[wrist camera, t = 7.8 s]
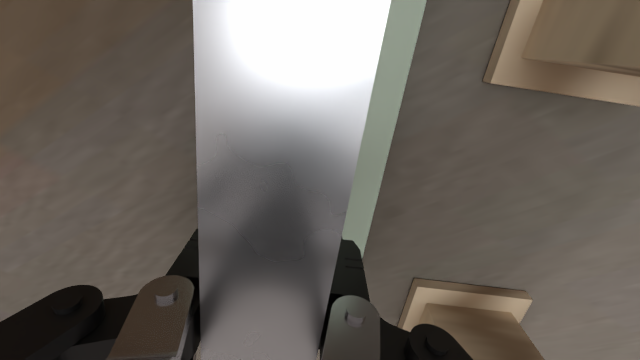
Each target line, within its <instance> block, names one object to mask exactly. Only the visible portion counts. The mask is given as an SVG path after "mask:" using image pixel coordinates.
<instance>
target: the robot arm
mask: <svg viewBox="0 0 640 360" xmlns="http://www.w3.org/2000/svg"><path fill="white" fill-rule="evenodd" d="M200 341H201V334H200V290H199V246H198V229H196V231H195V232H194V234H193V235H192V237H191V238H190V241H188V243H187V244H186V246H185V248H184V249H183V250H182V252H181V253H180V255H179V256H178V258H177V259H176V261H175V262H174V264H173V265H172V266H171V268H170V269H169V271H168V272H167V274H166V275H165V276H163V277H159V278H157V279H154V280H152V281H150V282H149V283H147V284H146V285H145V286H144V287H143V288H142V289H141V290H140V292H139V293H138V294H137V295H132V296H126V297H119V298H111V299H104V300H103V295H102V292H101V291H100V290H99V289H98V288H96V287H94V286H90V285H77V286H71V287H67V288H64V289H61V290H58V291H56V292H54V293H52V294H50V295H48V296H47V297H45V298H43V299H41V300H39V301H38V302H36V303H34V304H32V305H30V306H28V307H27V308H25V309H23V310H21V311H19V312H18V313H16V314H14V315H12V316H10V317H9V318H7V319H5V320H3V321H1V322H0V360H196V350H197V348H198V346H199V343H200ZM318 349H320V360H473V359H472V358H471V356H470V355H469V354H468V353H467V352H466V351H465V350H464V349H463V347H462V346H461V345H460V344H459V343H458V342H457V341H456V340H455V338H454V337H453V336H452V335H450V334H449V333H448V332H447V331H445V330H444V329H442V328H440V327H438V326H435V325H432V324H418V325H416V326H415V327H413V328H412V330H411V332H409V331H406V330H404V329H401V328H398V327H396V326H393V325H391V324H389V323H387V322H386V321H384V320H383V319H382V318H380V316H379V313H378V311H377V309H376V308H375V307H374V306H373V305H372V304H371V303H370V300H369V294H368V289H367V284H366V278H365V273H364V270H363V262H362V257H361V251H360V249H359V248H358V246H357V245H356V244H355V242H354V241H352V240H344V239H343V238H342V237H341V242H340V247H339V252H338V257H337V261H336V266H335V271H334V276H333V281H332V285H331V290H330V295H329V300H328V305H327V309H326V314H325V319H324V324H323V329H322V333H321V338H320V343H319V348H318Z"/></svg>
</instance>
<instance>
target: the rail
mask: <svg viewBox="0 0 640 360" xmlns="http://www.w3.org/2000/svg"><path fill="white" fill-rule="evenodd" d="M390 2H391V0H193V27H194V71H195V114H196V158H197V202H198V246H199V290H200V334H201V360H316V357H317V353H318V348H319V343H320V338H321V333H322V329H323V324H324V319H325V314H326V309H327V305H328V300H329V295H330V290H331V285H332V281H333V276H334V271H335V266H336V261H337V257H338V252H339V247H340V242H341V237H342V233H343V228H344V223H345V218H346V213H347V209H348V204H349V199H350V194H351V189H352V185H353V180H354V175H355V170H356V165H357V161H358V156H359V151H360V146H361V141H362V137H363V132H364V127H365V122H366V117H367V113H368V108H369V103H370V98H371V93H372V89H373V84H374V79H375V74H376V69H377V65H378V60H379V55H380V50H381V45H382V41H383V36H384V31H385V26H386V21H387V17H388V12H389V7H390Z"/></svg>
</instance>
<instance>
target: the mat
mask: <svg viewBox="0 0 640 360" xmlns="http://www.w3.org/2000/svg"><path fill="white" fill-rule="evenodd" d="M426 1H427V0H391V2H390V7H389V12H388V17H387V21H386V26H385V31H384V36H383V41H382V45H381V50H380V55H379V60H378V65H377V69H376V74H375V79H374V84H373V89H372V93H371V98H370V103H369V108H368V113H367V117H366V122H365V127H364V132H363V137H362V141H361V146H360V151H359V156H358V161H357V165H356V170H355V175H354V180H353V185H352V189H351V194H350V199H349V204H348V209H347V213H346V218H345V223H344V228H343V233H342V238H343V239H344V240H352V241H354V242H355V244H356V245H357V246H358V248H359V249H360V251H361V257H362V258H363V254H364V250H365V246H366V242H367V238H368V234H369V230H370V226H371V222H372V218H373V214H374V210H375V206H376V202H377V198H378V194H379V190H380V186H381V182H382V178H383V174H384V170H385V166H386V162H387V158H388V153H389V149H390V145H391V141H392V137H393V133H394V129H395V125H396V121H397V117H398V113H399V109H400V105H401V101H402V97H403V93H404V89H405V85H406V81H407V77H408V73H409V69H410V65H411V61H412V57H413V53H414V49H415V45H416V41H417V37H418V33H419V29H420V25H421V21H422V17H423V13H424V9H425V5H426Z"/></svg>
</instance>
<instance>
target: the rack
mask: <svg viewBox="0 0 640 360" xmlns="http://www.w3.org/2000/svg"><path fill="white" fill-rule="evenodd" d="M483 82H487V83H492V84H498V85H505V86H511V87H518V88H524V89H531V90H537V91H543V92H550V93H556V94H563V95H569V96H575V97H582V98H588V99H595V100H601V101H608V102H614V103H620V104H627V105H633V106H640V0H511V1H510V4H509V6H508V9H507V12H506V15H505V18H504V21H503V24H502V27H501V29H500V32H499V35H498V38H497V41H496V44H495V47H494V50H493V53H492V55H491V58H490V61H489V64H488V67H487V70H486V73H485V76H484V78H483ZM532 301H533V300H532V298H531V297H530V296H529V295H528V293H527V292H526V291H519V290H511V289H502V288H494V287H485V286H477V285H468V284H460V283H451V282H443V281H434V280H426V279H417V278H414V280H413V283H412V286H411V289H410V291H409V294H408V297H407V300H406V303H405V306H404V309H403V312H402V315H401V317H400V320H399V323H398V326H397V327H398V328H401V329H404V330H406V331H409V332H411V330H412V328H413V327H415V326H416V325H418V324H432V325H435V326H438V327H440V328H442V329H444V330H445V331H447V332H448V333H449V334H450V335H452V336H453V337H454V338H455V340H456V341H457V342H458V343H459V344H460V345H461V346H462V347H463V349H464V350H465V351H466V352H467V353H468V354H469V355H470V356H471V358H472V359H473V360H544V358H543V357H542V356H541V354H540V353H539V351H538V350H537V348H536V347H535V346H534V344H533V343H532V341H531V340H530V339H529V337H528V336H527V334H526V333H525V331H524V330H523V329H522V327H521V326H520V322H521V320H522V318H523V317H524V315H525V313H526V311H527V310H528V308H529V306H530V304H531V303H532Z"/></svg>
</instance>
